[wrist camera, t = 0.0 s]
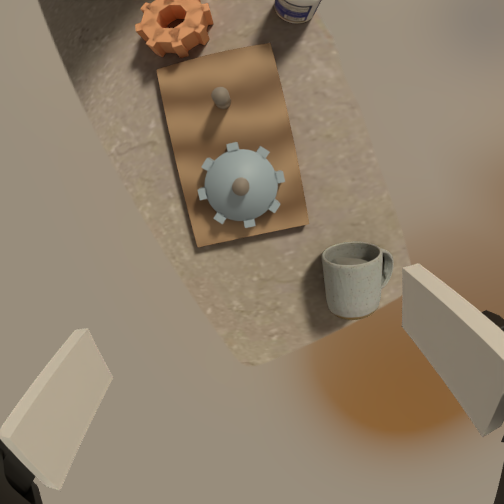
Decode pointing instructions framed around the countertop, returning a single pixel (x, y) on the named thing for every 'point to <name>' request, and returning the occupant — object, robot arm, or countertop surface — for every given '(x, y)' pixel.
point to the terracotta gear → (182, 36)
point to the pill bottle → (296, 10)
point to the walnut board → (231, 134)
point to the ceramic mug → (355, 278)
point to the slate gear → (250, 168)
